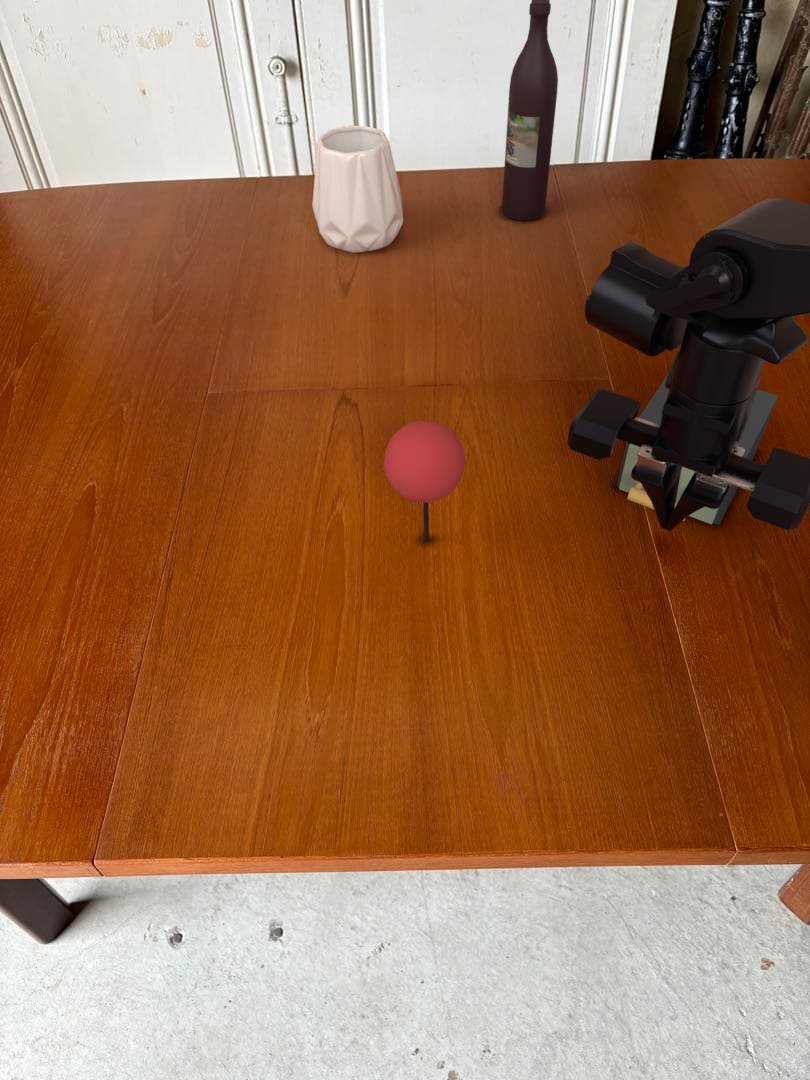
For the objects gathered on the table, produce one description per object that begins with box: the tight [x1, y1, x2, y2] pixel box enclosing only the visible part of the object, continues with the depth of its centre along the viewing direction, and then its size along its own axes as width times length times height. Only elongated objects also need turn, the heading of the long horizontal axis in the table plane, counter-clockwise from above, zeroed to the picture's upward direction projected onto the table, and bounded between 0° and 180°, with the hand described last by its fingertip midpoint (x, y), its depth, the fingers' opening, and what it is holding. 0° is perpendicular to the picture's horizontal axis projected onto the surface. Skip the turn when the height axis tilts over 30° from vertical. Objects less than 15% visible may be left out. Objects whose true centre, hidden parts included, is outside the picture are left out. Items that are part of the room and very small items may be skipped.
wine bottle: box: [501, 0, 559, 222], centre depth 123 cm, size 7×7×30 cm
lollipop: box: [383, 420, 466, 543], centre depth 81 cm, size 8×8×15 cm
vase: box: [311, 125, 404, 254], centre depth 125 cm, size 14×14×15 cm
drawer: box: [618, 444, 719, 525], centre depth 87 cm, size 17×10×6 cm, turn 148°
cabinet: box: [616, 374, 779, 526], centre depth 90 cm, size 14×12×8 cm
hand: (667, 526), depth 71 cm, fingers closed
